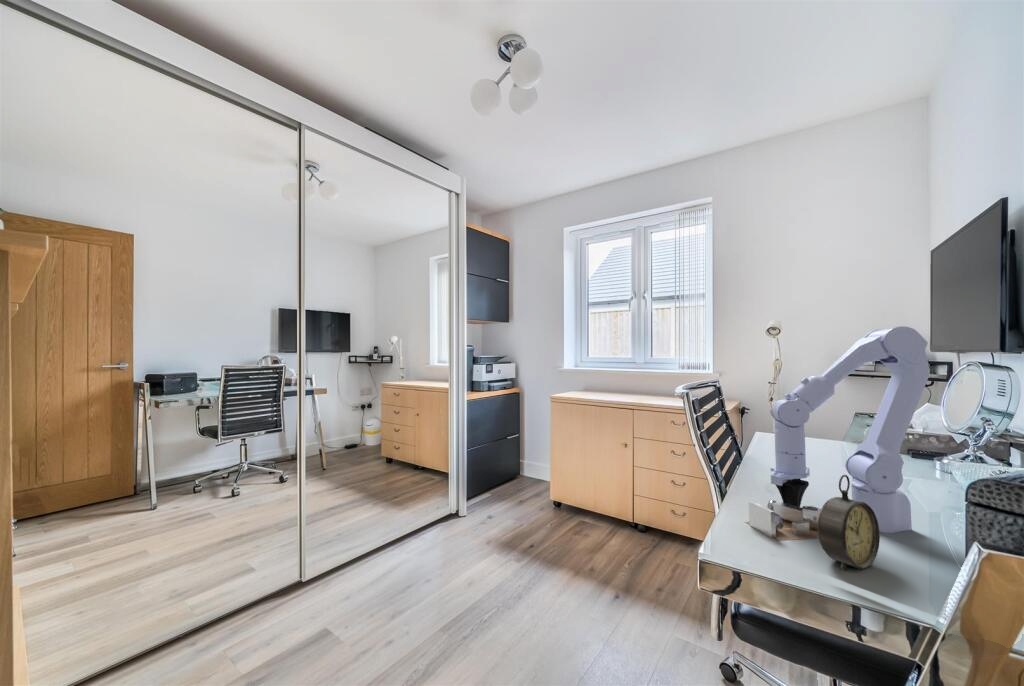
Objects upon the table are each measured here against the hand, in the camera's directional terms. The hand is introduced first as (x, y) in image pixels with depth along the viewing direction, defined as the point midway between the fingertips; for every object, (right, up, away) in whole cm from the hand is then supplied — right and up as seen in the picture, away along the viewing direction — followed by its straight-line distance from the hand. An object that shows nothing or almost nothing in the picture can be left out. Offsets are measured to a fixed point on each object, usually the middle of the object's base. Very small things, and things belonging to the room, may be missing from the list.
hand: (791, 511), depth 89 cm
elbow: (-2, -1, -4) cm, 4 cm away
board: (-4, -2, -7) cm, 8 cm away
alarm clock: (-5, -1, -21) cm, 21 cm away
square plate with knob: (-8, -1, -8) cm, 11 cm away
